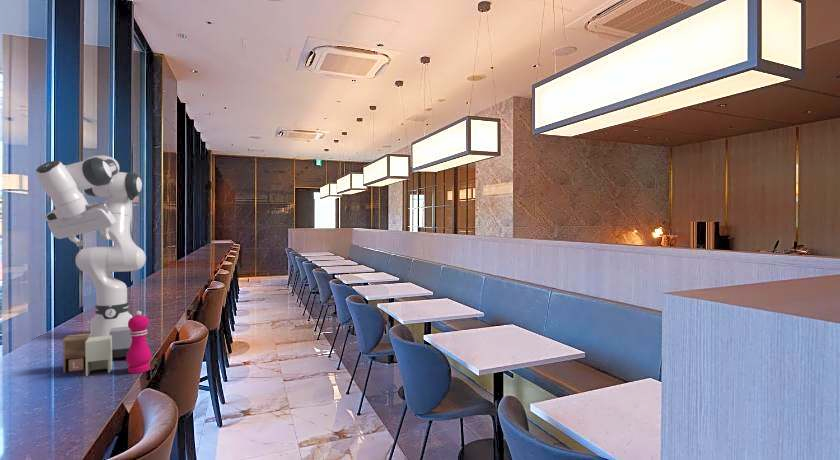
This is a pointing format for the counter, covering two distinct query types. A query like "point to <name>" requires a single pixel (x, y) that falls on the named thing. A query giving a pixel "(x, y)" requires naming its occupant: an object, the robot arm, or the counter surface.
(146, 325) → the pepper mill
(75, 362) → the letter cube
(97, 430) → the counter surface
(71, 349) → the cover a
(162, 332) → the counter surface
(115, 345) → the cover
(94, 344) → the cover
